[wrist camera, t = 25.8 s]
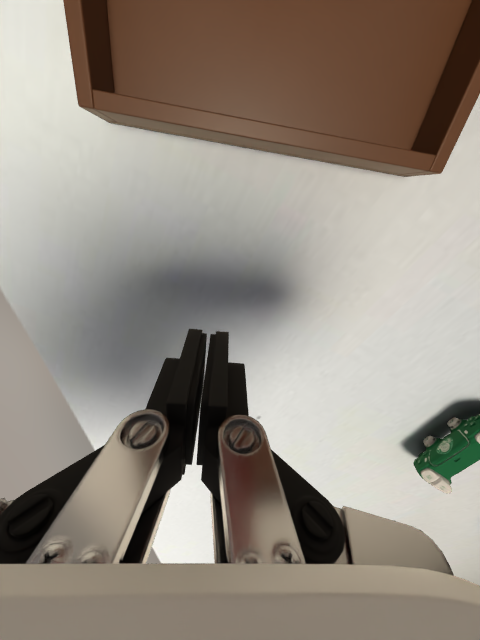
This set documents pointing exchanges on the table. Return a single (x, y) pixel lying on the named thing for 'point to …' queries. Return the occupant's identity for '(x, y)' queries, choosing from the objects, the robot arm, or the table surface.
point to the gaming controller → (450, 453)
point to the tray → (286, 74)
